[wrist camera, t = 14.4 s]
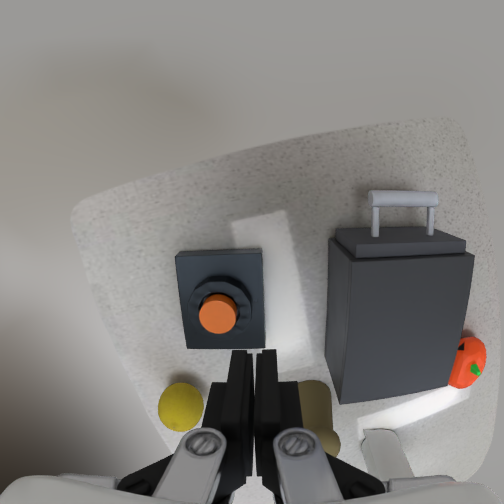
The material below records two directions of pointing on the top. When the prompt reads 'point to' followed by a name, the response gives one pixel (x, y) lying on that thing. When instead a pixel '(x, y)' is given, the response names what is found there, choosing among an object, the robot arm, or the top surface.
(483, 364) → the pumpkin
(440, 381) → the dark grey drawer cabinet
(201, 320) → the button
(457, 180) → the top surface
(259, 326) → the control block
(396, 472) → the paper towel roll
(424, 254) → the basket drawer
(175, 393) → the lemon
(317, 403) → the pepper mill
